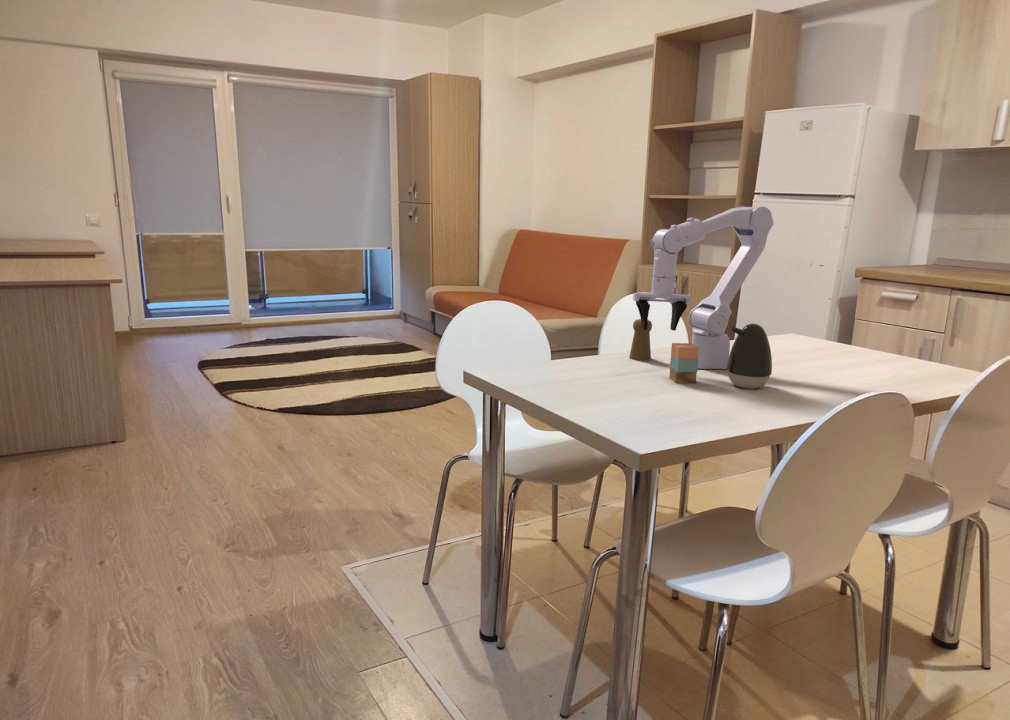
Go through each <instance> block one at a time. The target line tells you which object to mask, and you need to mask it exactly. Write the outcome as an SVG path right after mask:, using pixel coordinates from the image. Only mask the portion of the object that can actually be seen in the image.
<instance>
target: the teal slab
mask: <svg viewBox="0 0 1010 720" xmlns="http://www.w3.org/2000/svg"><path fill="white" fill-rule="evenodd" d="M670 368H672V369H673V370H675V371H677V372H697V373H698V360H681V359H676V358H675V357H673V356H672V355H671V354H670V365H669V369H670Z"/></svg>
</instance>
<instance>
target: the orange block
mask: <svg viewBox="0 0 1010 720" xmlns="http://www.w3.org/2000/svg"><path fill="white" fill-rule="evenodd" d="M698 353H699V347H697V346H695V345H694V344H692V342H691V343H688V342H687V343H686V342H685V343H684V342H679V343H678V342H677V343H676V342H673V343H672V342H671V352H670V356H671V355H672V356H673V357H675V358H676V359H681V360H698Z"/></svg>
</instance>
